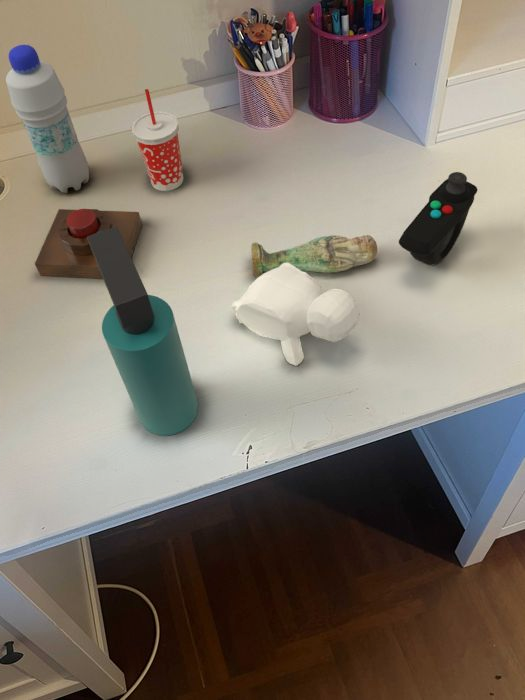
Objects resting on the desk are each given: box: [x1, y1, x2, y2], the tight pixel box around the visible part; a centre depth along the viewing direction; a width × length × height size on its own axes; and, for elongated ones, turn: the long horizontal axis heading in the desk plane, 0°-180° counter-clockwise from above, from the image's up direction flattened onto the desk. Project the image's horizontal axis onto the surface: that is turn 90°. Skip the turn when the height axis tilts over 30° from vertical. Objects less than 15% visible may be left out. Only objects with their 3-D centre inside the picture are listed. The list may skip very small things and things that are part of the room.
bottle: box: [5, 44, 90, 194], centre depth 86 cm, size 7×7×20 cm
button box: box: [34, 208, 143, 280], centre depth 84 cm, size 11×10×4 cm
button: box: [67, 208, 99, 239], centre depth 82 cm, size 4×4×2 cm
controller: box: [398, 171, 478, 266], centre depth 77 cm, size 4×12×10 cm, turn 142°
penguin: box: [230, 263, 360, 367], centre depth 72 cm, size 9×8×15 cm
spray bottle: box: [87, 227, 199, 436], centre depth 63 cm, size 11×6×20 cm, turn 24°
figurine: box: [250, 234, 378, 277], centre depth 80 cm, size 6×15×4 cm, turn 86°
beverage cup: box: [131, 88, 185, 192], centre depth 87 cm, size 6×6×14 cm
